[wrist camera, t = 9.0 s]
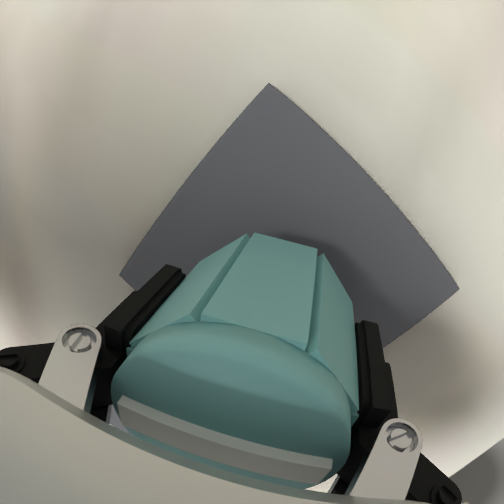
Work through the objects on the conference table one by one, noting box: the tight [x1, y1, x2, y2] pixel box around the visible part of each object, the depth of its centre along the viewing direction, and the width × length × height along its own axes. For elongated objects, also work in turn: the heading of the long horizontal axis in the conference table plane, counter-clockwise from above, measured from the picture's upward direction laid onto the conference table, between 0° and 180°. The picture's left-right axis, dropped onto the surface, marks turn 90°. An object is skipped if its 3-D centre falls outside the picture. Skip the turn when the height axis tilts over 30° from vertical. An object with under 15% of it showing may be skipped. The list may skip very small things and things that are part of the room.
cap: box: [111, 232, 359, 489], centre depth 9 cm, size 6×6×6 cm
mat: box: [119, 83, 459, 348], centre depth 14 cm, size 12×12×1 cm
